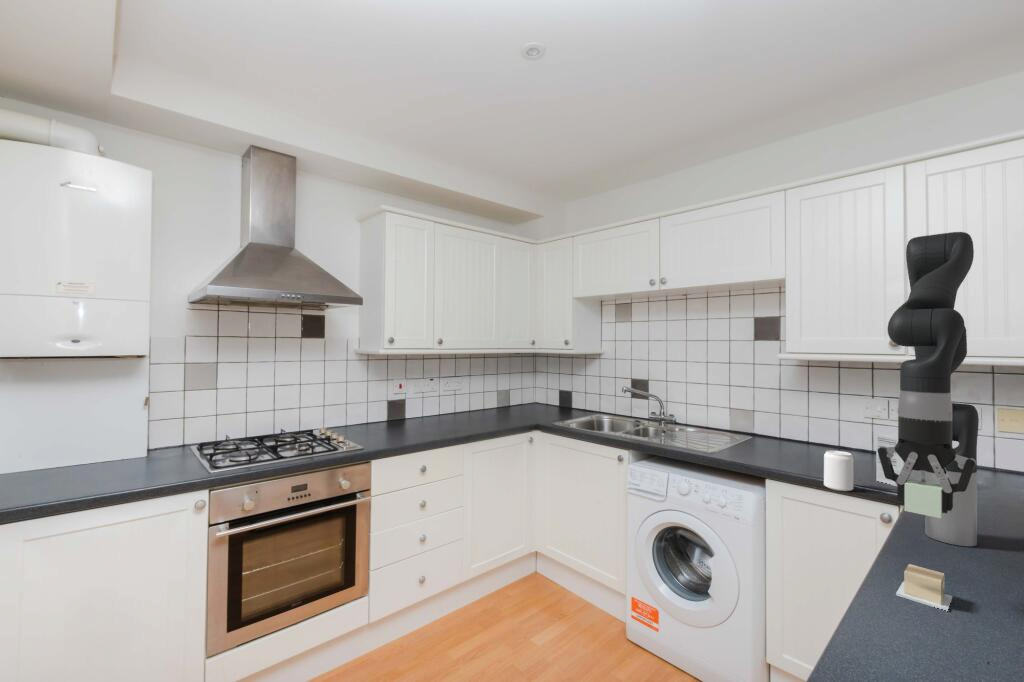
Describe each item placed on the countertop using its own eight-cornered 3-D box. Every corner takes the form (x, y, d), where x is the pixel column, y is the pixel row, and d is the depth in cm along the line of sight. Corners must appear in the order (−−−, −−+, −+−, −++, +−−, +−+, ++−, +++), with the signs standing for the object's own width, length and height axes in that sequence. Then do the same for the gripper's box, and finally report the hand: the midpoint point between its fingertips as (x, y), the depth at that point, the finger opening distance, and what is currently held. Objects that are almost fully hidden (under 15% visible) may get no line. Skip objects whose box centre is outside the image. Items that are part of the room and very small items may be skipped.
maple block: (909, 584, 89) (909, 563, 89) (944, 595, 85) (944, 573, 85) (904, 593, 86) (904, 571, 86) (940, 605, 82) (940, 582, 82)
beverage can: (841, 485, 160) (841, 450, 160) (859, 492, 152) (859, 455, 152) (818, 484, 160) (818, 449, 160) (835, 492, 152) (835, 455, 152)
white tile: (902, 583, 90) (902, 581, 90) (952, 598, 85) (952, 595, 85) (896, 595, 86) (896, 593, 86) (947, 611, 81) (947, 609, 81)
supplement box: (892, 479, 169) (893, 433, 170) (922, 486, 161) (922, 437, 161) (875, 481, 166) (875, 434, 167) (904, 488, 157) (904, 438, 158)
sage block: (909, 505, 89) (909, 479, 89) (944, 512, 86) (944, 485, 86) (904, 510, 86) (904, 483, 86) (941, 518, 82) (941, 490, 82)
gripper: (980, 419, 83) (980, 514, 83) (880, 410, 94) (879, 495, 94) (977, 422, 78) (977, 524, 78) (871, 413, 89) (871, 502, 89)
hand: (924, 507), depth 86 cm, fingers closed on sage block, 5 cm apart
